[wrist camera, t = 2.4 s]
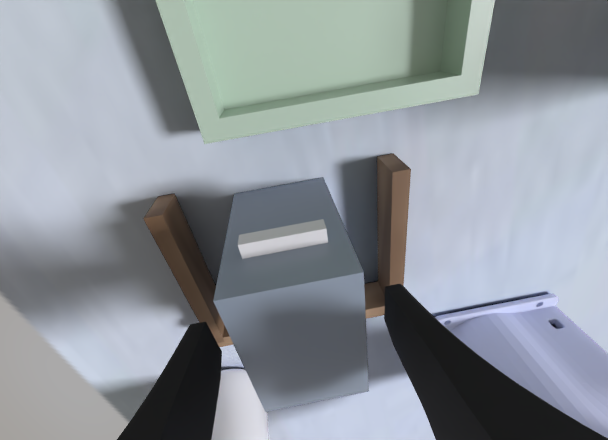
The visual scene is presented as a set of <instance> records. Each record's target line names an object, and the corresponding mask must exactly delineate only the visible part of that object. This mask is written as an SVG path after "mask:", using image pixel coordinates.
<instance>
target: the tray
mask: <svg viewBox="0 0 608 440" xmlns="http://www.w3.org/2000/svg"><path fill="white" fill-rule="evenodd" d="M156 3H157V6H158V9H159V12H160V15H161V18H162V21H163V24H164V27H165V30H166V33H167V36H168V38H169V41H170V44H171V47H172V50H173V53H174V56H175V59H176V62H177V65H178V68H179V71H180V73H181V76H182V79H183V82H184V85H185V88H186V91H187V94H188V97H189V100H190V103H191V106H192V108H193V111H194V114H195V117H196V120H197V123H198V126H199V129H200V132H201V135H202V138H203V141H204V144H207V143H213V142H219V141H224V140H230V139H235V138H241V137H246V136H252V135H257V134H263V133H268V132H274V131H279V130H285V129H290V128H296V127H302V126H307V125H313V124H318V123H324V122H329V121H335V120H340V119H346V118H351V117H357V116H362V115H368V114H373V113H379V112H385V111H390V110H396V109H401V108H407V107H412V106H418V105H423V104H429V103H434V102H440V101H445V100H451V99H456V98H462V97H468V96H473V95H478V94H479V88H480V83H481V77H482V71H483V66H484V60H485V54H486V49H487V43H488V37H489V32H490V26H491V20H492V15H493V9H494V3H495V0H156Z"/></svg>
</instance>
